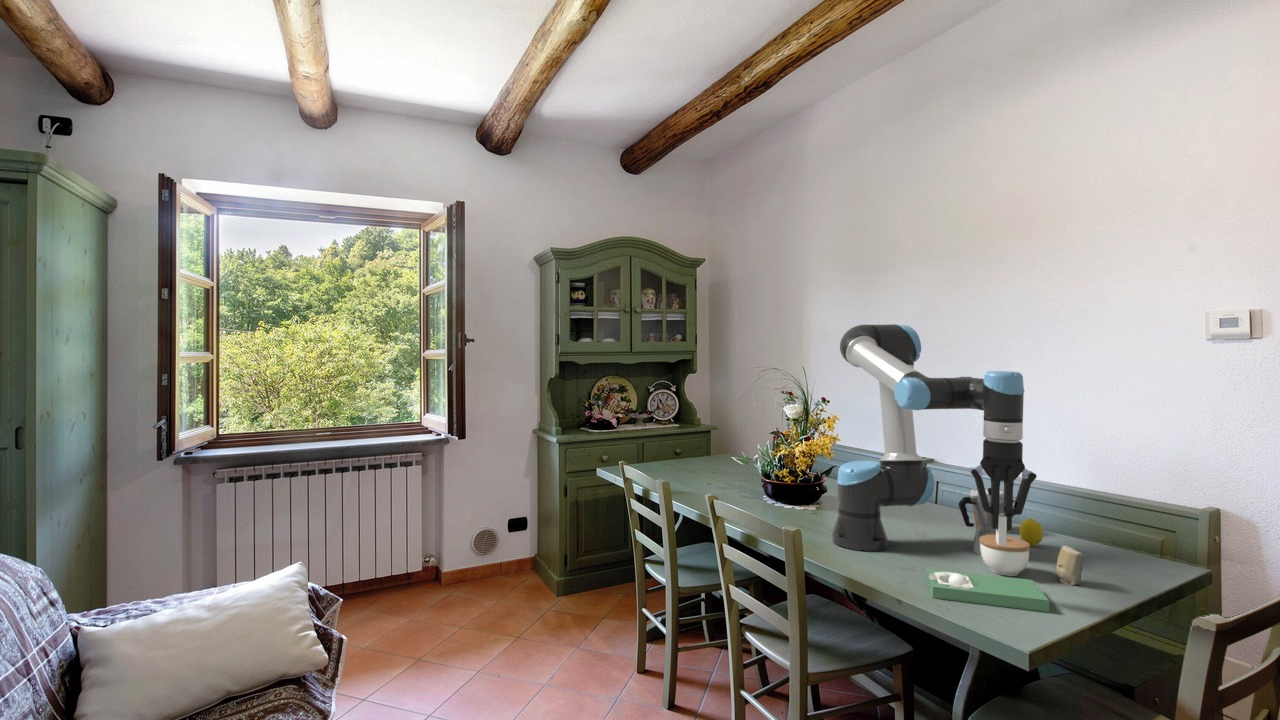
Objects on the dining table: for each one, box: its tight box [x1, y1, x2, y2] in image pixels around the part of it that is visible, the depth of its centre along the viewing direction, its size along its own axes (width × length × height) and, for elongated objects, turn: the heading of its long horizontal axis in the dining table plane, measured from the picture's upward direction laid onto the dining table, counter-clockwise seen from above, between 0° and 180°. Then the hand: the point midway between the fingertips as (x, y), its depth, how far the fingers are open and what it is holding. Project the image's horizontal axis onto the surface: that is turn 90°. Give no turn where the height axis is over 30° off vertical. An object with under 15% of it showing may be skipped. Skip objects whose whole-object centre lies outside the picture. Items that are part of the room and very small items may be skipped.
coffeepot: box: [958, 487, 1016, 556], centre depth 158 cm, size 15×9×18 cm, turn 90°
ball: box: [948, 574, 968, 585], centre depth 132 cm, size 4×4×4 cm
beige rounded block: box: [1055, 545, 1085, 587], centre depth 137 cm, size 6×5×8 cm
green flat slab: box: [925, 568, 1050, 613], centre depth 130 cm, size 22×12×2 cm, turn 70°
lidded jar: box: [979, 535, 1031, 577], centre depth 144 cm, size 11×11×9 cm
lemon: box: [1018, 517, 1044, 547], centre depth 164 cm, size 6×6×8 cm
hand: (1001, 543), depth 130 cm, fingers closed
